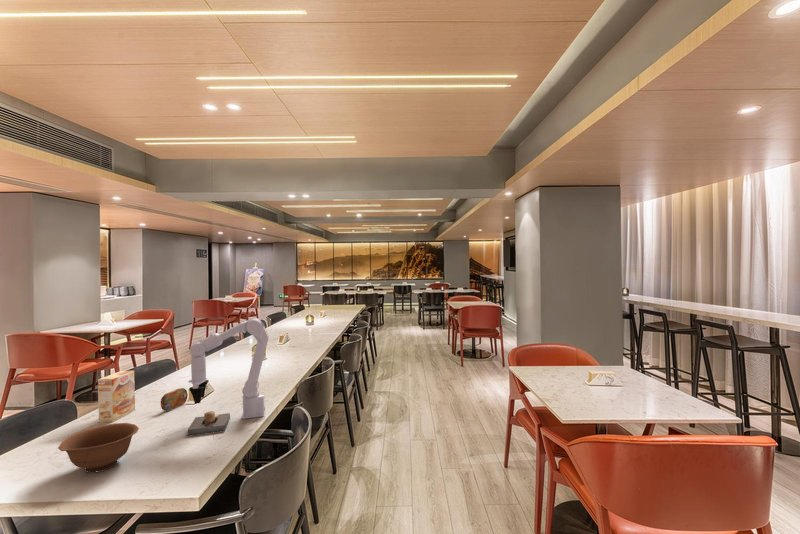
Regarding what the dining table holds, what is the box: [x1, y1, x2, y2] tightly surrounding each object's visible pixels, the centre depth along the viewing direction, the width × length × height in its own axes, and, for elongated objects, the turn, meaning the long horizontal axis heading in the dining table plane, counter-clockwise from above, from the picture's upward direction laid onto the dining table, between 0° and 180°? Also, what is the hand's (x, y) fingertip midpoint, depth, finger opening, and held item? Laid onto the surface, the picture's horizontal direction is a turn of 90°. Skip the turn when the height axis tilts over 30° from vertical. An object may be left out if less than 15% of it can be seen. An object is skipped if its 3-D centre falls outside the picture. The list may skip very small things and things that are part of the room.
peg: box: [204, 410, 216, 424], centre depth 165 cm, size 4×4×6 cm
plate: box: [187, 412, 231, 437], centre depth 165 cm, size 14×14×3 cm
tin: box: [160, 387, 189, 412], centre depth 191 cm, size 15×3×8 cm, turn 168°
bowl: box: [57, 422, 140, 473], centre depth 134 cm, size 22×22×11 cm
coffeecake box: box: [97, 370, 136, 423], centre depth 182 cm, size 15×7×20 cm, turn 0°
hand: (199, 400), depth 171 cm, fingers open, 7 cm apart
